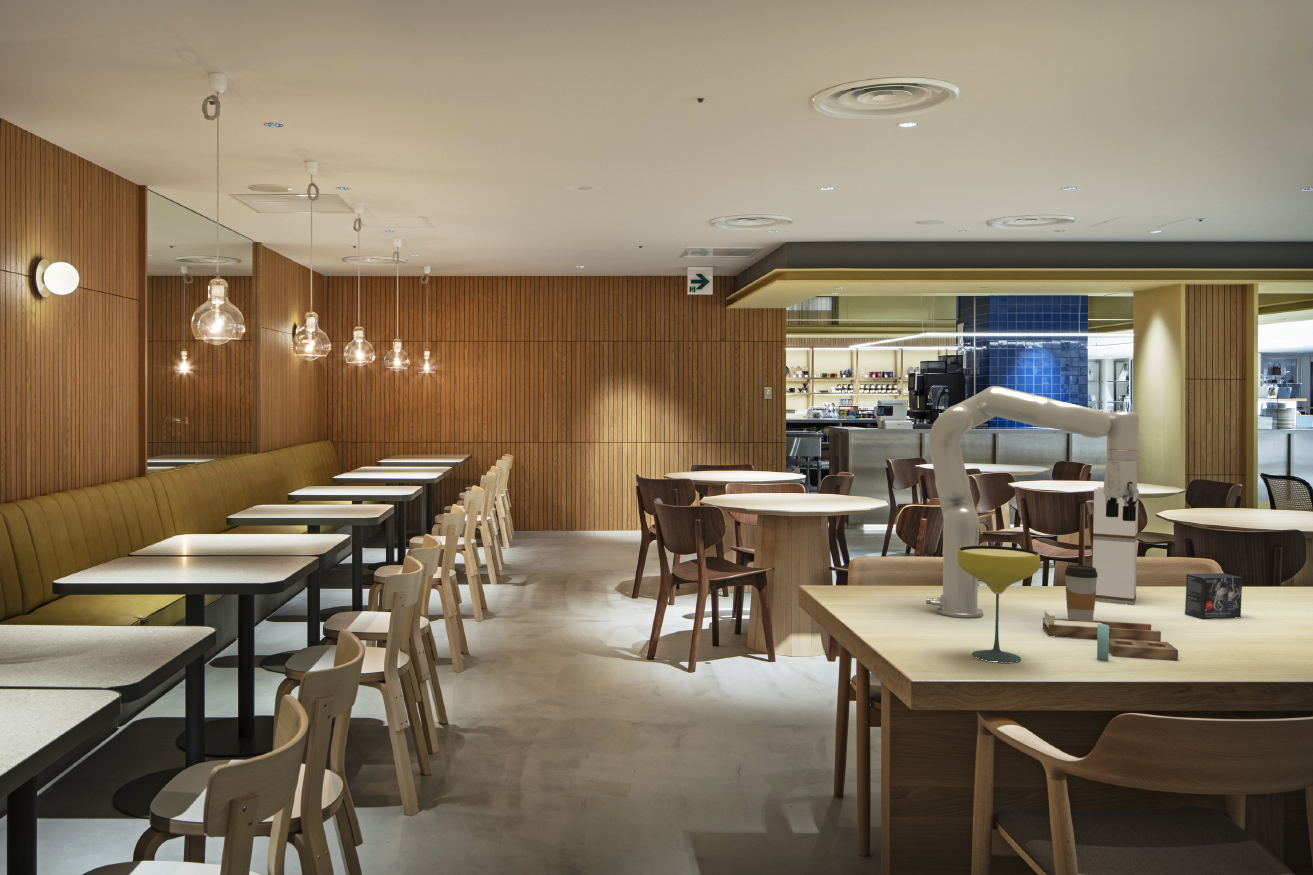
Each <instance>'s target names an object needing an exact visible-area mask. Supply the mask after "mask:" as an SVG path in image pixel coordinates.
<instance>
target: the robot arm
mask: <svg viewBox="0 0 1313 875" xmlns="http://www.w3.org/2000/svg"><path fill="white" fill-rule="evenodd" d="M996 417H997V418H1001V419H1005V420H1009V421H1014V422H1016V423H1017V422H1019V423H1022V424H1026V425H1030V426H1034V427H1039V428H1047V429H1048V428H1049V429H1055V430H1060V431H1066V432H1069V433H1073V434H1077V435H1081V436H1083V437H1086V438H1093V439H1098V438H1099V439H1100V438H1102V437H1106V464H1105V469H1104V470H1105V471H1104V477H1103V478H1104V481H1103V487H1104V495H1105V496H1106V500H1105V501H1106V517H1118V510H1119V503H1117V501H1118V499H1119V498H1121V497H1122V499H1123V502H1124V505H1125V506H1123V521H1135V520H1136V506H1137V501H1138V502H1139V495H1140V491H1139V488H1138V474H1137V472H1138V471H1137V470H1138V469H1137V463H1138V457H1139V456H1138V455H1139V454H1138V453H1139V450H1138V449H1139V422H1140V421H1139V415H1138V413H1136V412H1135V411H1111V412H1104V411H1102V410H1100V409H1096V408H1093V407H1086V406H1084V405H1083V406H1082V405H1078V404H1074V403H1068V402H1066V401H1065V402H1064V401H1060V400H1057V399H1053V398H1051V397H1047V396H1044V395H1037V394H1034V393H1029V392H1025V391H1020V390H1018V389H1017V390H1016V389H1012V388H1007V387H1003V386H998V385H992V386H988V387H987V388H985V389H983V390H982V391H980V392H978V393H976V394H975V395H972V396H971V397H968V398H967V399H965V400H963V401H961V402H958V403H957V404H955V405H952V406H949V407H947V409H945V410H944V411H943V412H942V413H941V414H940V415H938V417H937V418H936V420H935V421H934V422H933V424H932V426H931V428H930V429H931V430H930V431H929V438H928V440H929V441H928V444H929V451H930V457H931V464H932V467H933V471H934V473H933V474H934V477H935V488H936V492H937V497H938V501H939V504H940V509H941V513H942V517H943V543H942V544H943V551H942V552H943V553H942V554H943V555H942V556H943V558H942V560H943V561H942V562H943V564H942V565H943V566H942V567H943V568H942V594H940V596H938V597H936V598H934V597H925V604H926V605H930V606H937V608H936V612H937V613H938V614H940V615H943V616H947V617H952V618H964V619H965V618H966V619H968V618H973V619H974V618H979V617H982V616H984V611H983V610H982V609H980V608H979V607H978V594H979V593H978V591H979V590H978V589H979V587H978V585H979V584H978V583H979V579H977V578H975V577H974V576H972V575H970V574H969V573H967V572H966V571H964V570H963V569H962V568H961V567H960V566H959V564H958V559H957V555H958V550H959V548H961V547H966V546H979V541H980V518H979V514H978V512H977V509H976V505H975V502H974V498H973V494H972V489H971V485H970V484H971V483H970V477H969V475H968V473H967V470H966V466H965V462H964V458H963V452H962V447H961V440H962V436H963V435H964V434H966V433H967V432H969V431H971V430H972V429H974V428H976V427H978V426H980V425H982V424H985V423H986V422H988V421H990V420H992V419H994V418H996ZM1127 499H1129V500H1128V501H1127Z"/></svg>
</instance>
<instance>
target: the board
mask: <svg viewBox="0 0 1313 875" xmlns="http://www.w3.org/2000/svg"><path fill="white" fill-rule="evenodd" d="M1044 619H1045V617H1042V630H1043V629H1044V630H1043V632H1045V633H1046V634H1047V636H1048V637H1049V636H1055V637H1054V638H1064V637H1070V638H1069V639H1083V640H1095V641H1096V640H1097V633H1098V627H1087V626H1071V625H1054V624H1049V628H1048V627H1047V625H1046V624H1045V623H1044ZM1054 620H1062V621H1079V622H1096V623H1102V624H1105V625H1109V638H1112V639H1127V640H1143V641H1159V642H1162V631H1161V630H1152V624H1151V623H1138V622H1124V621H1123V622H1122V621H1107V620H1105V621H1103V620H1092V621H1091V620H1075V619H1069V618H1055V617H1054Z"/></svg>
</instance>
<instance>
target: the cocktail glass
mask: <svg viewBox="0 0 1313 875" xmlns="http://www.w3.org/2000/svg"><path fill="white" fill-rule="evenodd" d="M957 559H958V564H959V566H960V567H961V568H962V569H963V570H964V571H966V572H967V573H969V574H970V575H972V576H974V577H975V578H977V579H978V581H981V582H982V583H984V584H985V585H986V586H987V587H988V588H989V589H990V591H991V592H992V593H993V594H995V622H994V623H995V626H994V627H995V628H994V630H995V631H994V643H993V647H992V649H982V650H980V649H979V650H976V651H973V652H971V655H973V656H974V658H975V657H977V658H979V659H983V660H987V661H998V662H1016V661H1019V662H1021V661H1022V657H1021V656H1019V655H1018V654H1015V653H1012V652H1008V651H1004V650H1001V647H1000V640H999V620H1000V619H999V610H1000V608H999V605H1000V604H999V603H1000V595H1002V594H1003V593H1004V592H1005V591H1006V590H1007V588H1008V587H1010V586H1011V585H1014V584H1016V583H1019V582H1021V581H1023V580H1026V579H1028V578H1030V577H1032V576H1033V575H1035V574H1036V573H1037V572H1038V571H1039V569H1040V567H1041V555H1040V553H1039V552H1038V551H1035V550H1031V549H1026V548H1019V547H1014V546H1013V547H1011V546H1001V545H999V546H998V545H978V546H966V547H961V548H959V550H958V555H957ZM973 656H972V657H973ZM977 658H976V659H977ZM979 659H978V660H979ZM983 660H982V661H983ZM1020 660H1021V661H1020ZM987 661H986V662H987ZM1016 663H1017V662H1016Z"/></svg>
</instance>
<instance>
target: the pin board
mask: <svg viewBox="0 0 1313 875" xmlns="http://www.w3.org/2000/svg"><path fill="white" fill-rule="evenodd" d="M1109 655H1111V656H1112V657H1122V658H1135V659H1138V658H1139V659H1151V660H1164V661H1165V660H1169V661H1178V660H1179V650H1178V649H1177V648H1176V647H1175V646H1174V645H1172V644H1171V643H1169V642H1168V641H1161V642H1159V641H1143V640H1127V639H1112V638H1109Z"/></svg>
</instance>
